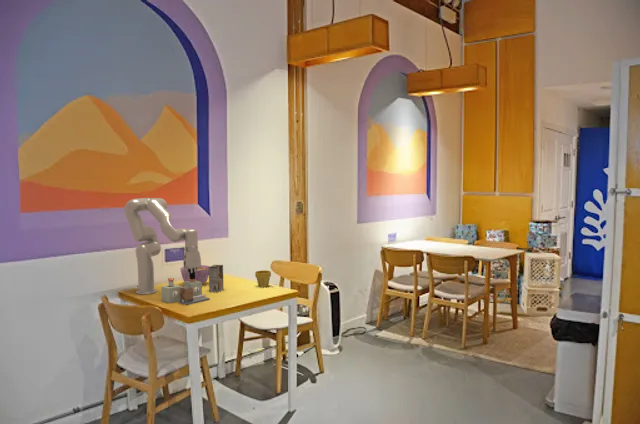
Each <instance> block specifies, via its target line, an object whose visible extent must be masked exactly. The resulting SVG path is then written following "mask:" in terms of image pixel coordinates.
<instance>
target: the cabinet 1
mask: <svg viewBox="0 0 640 424" xmlns="http://www.w3.org/2000/svg"><path fill="white" fill-rule="evenodd" d="M160 287H161V301H162V302H164V303H166V304H167V303H168V304H173V303H178V301H180V288H182V285H178V284H174V287H169V284H167V285H163V286H160Z"/></svg>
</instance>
